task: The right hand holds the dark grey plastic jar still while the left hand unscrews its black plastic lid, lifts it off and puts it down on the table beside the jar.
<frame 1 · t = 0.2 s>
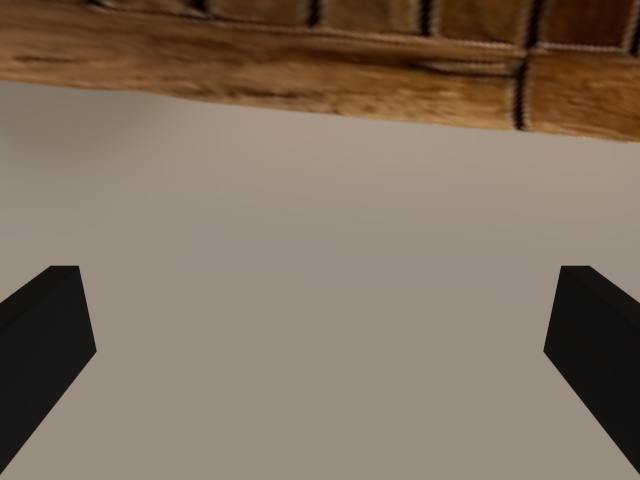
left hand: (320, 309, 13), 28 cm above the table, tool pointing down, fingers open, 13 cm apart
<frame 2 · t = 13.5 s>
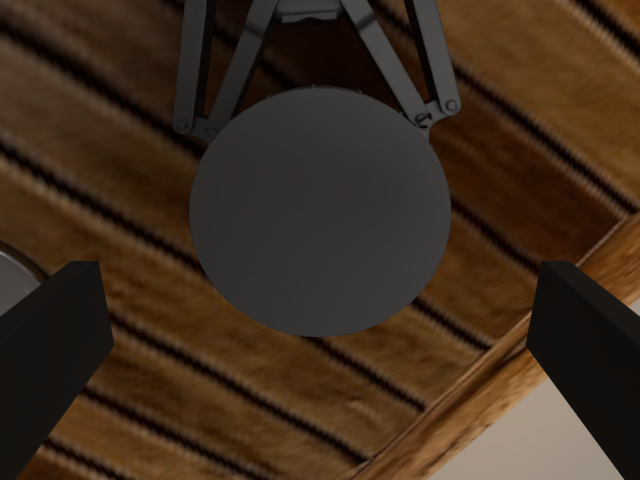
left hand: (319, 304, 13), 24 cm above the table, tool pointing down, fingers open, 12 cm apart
lid: (319, 222, 19), point 17 cm above the table, screwed on, not yet turned
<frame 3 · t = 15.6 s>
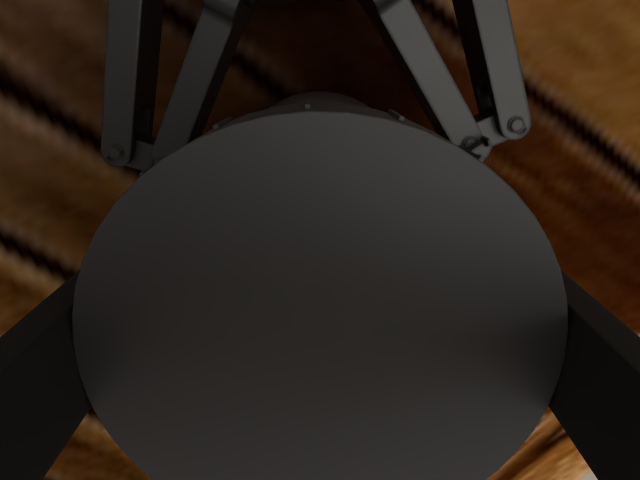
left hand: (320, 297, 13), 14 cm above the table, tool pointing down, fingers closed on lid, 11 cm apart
jar: (319, 181, 26), on the table, touching right hand
lid: (320, 354, 11), point 17 cm above the table, screwed on, not yet turned, touching left hand
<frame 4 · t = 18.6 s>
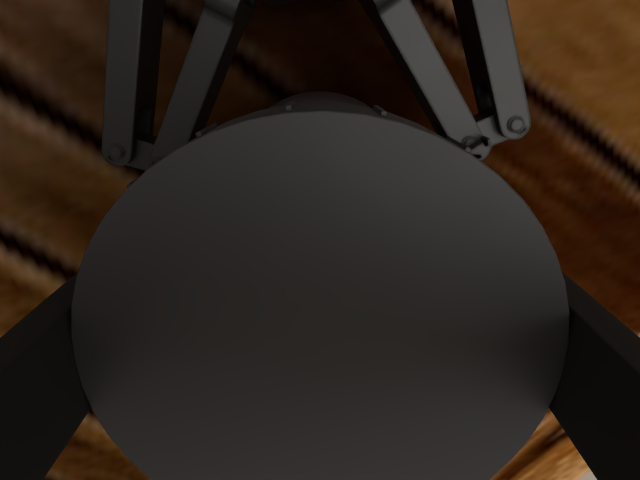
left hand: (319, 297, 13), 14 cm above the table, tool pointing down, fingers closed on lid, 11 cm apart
jar: (320, 180, 26), on the table, touching right hand
lid: (320, 355, 11), point 17 cm above the table, turned 80° so far, risen 0.1 cm, still on its thread, touching left hand
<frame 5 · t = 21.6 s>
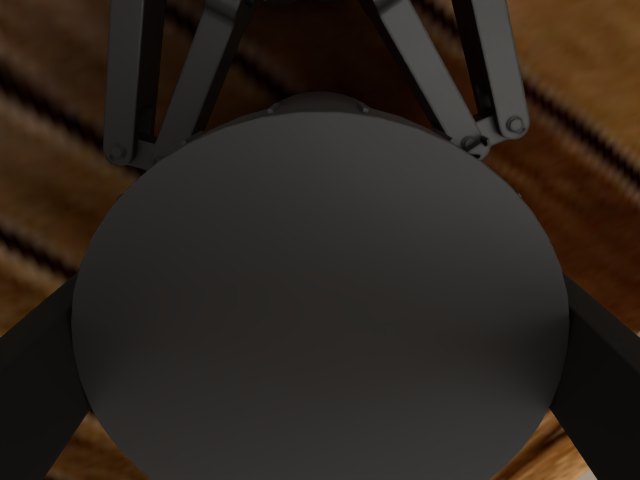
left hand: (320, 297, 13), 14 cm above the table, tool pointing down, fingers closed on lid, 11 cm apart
jar: (320, 180, 27), on the table, touching right hand
lid: (320, 355, 11), point 17 cm above the table, turned 159° so far, risen 0.2 cm, still on its thread, touching left hand
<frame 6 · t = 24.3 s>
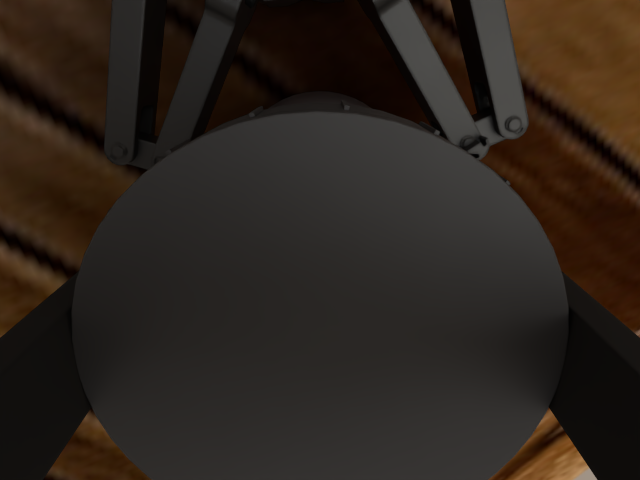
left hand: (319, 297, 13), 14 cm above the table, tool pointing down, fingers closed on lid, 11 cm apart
jar: (320, 180, 27), on the table, touching right hand
lid: (320, 355, 11), point 17 cm above the table, turned 239° so far, risen 0.3 cm, still on its thread, touching left hand
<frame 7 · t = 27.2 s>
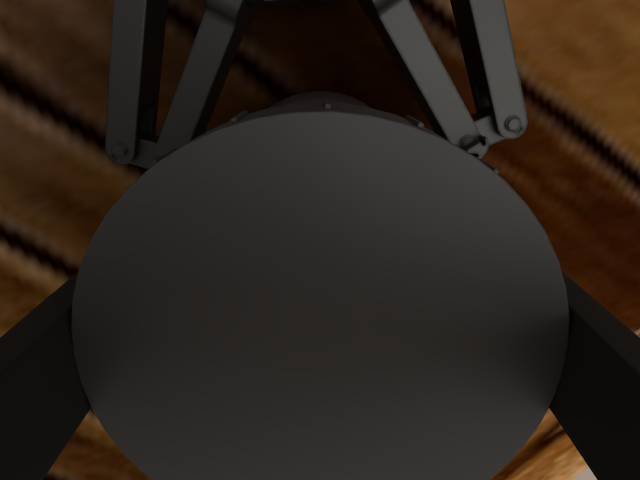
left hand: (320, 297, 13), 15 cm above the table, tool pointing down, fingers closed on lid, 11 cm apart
jar: (320, 179, 27), on the table, touching right hand
lid: (320, 355, 11), point 17 cm above the table, turned 318° so far, risen 0.4 cm, still on its thread, touching left hand
when the left hand's fingers open (0 cm above the table, at t = 34.4 s): lid drops 1 cm, point 2 cm above the table.
when the right hand's fingers open (6 cm above the table, at t = 35.4 s): jar stays where it is, on the table.
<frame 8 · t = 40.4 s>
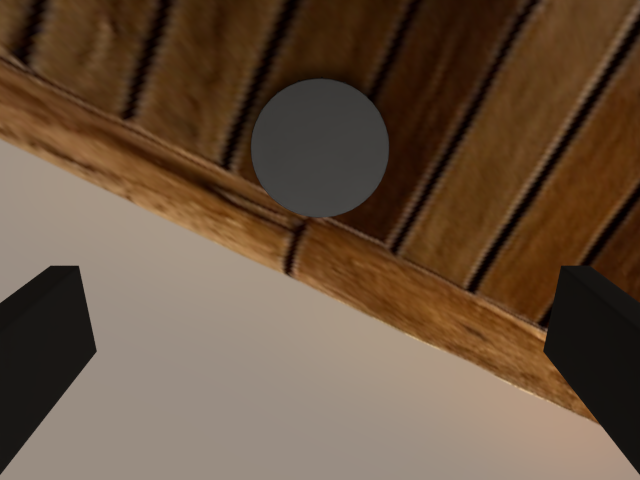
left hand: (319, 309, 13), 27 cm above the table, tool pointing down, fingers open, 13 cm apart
lid: (319, 151, 37), point 2 cm above the table, off its thread
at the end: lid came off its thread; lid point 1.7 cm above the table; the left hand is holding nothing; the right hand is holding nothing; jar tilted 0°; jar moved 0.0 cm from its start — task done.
